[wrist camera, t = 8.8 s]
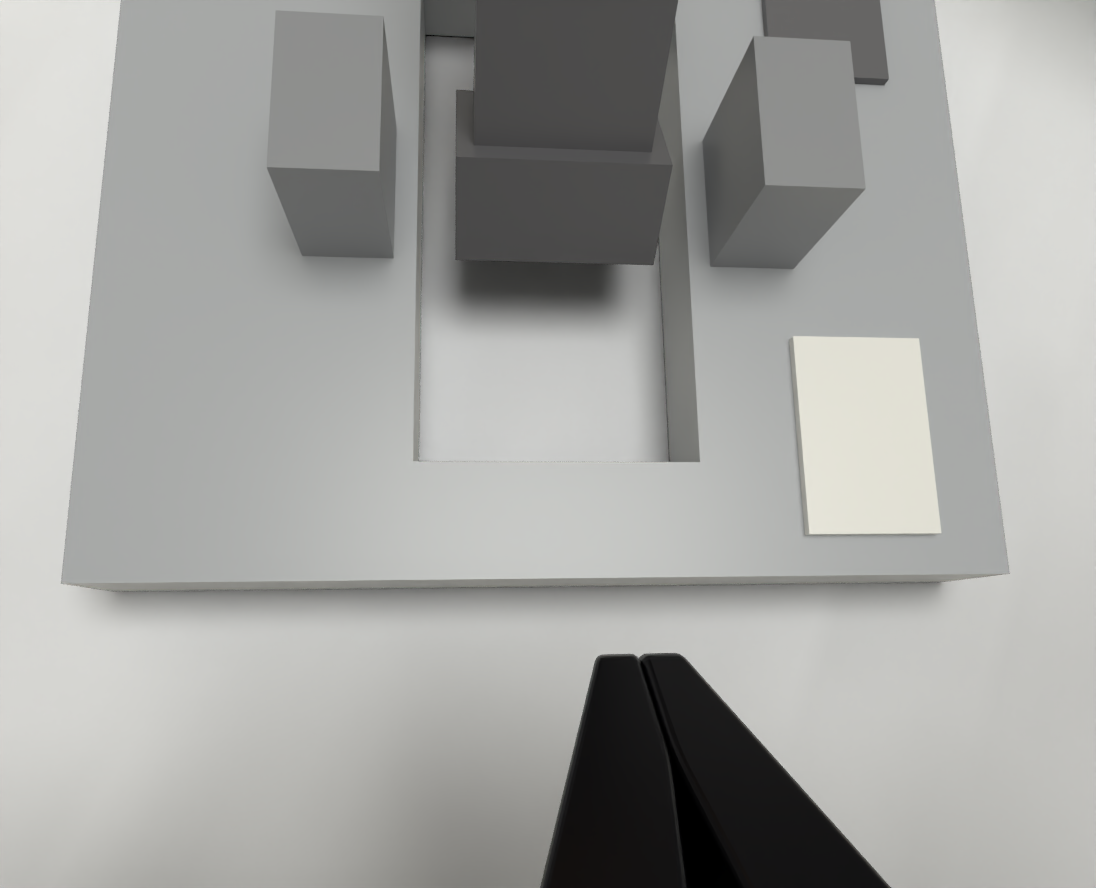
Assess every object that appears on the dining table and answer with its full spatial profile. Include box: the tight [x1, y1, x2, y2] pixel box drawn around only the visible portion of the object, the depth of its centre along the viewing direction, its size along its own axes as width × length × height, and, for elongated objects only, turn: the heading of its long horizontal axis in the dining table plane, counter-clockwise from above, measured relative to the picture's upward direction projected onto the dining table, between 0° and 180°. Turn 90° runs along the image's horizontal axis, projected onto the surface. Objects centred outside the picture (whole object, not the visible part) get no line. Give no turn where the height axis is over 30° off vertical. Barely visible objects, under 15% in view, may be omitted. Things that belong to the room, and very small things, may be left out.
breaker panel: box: [61, 0, 1010, 591], centre depth 16 cm, size 14×16×5 cm
